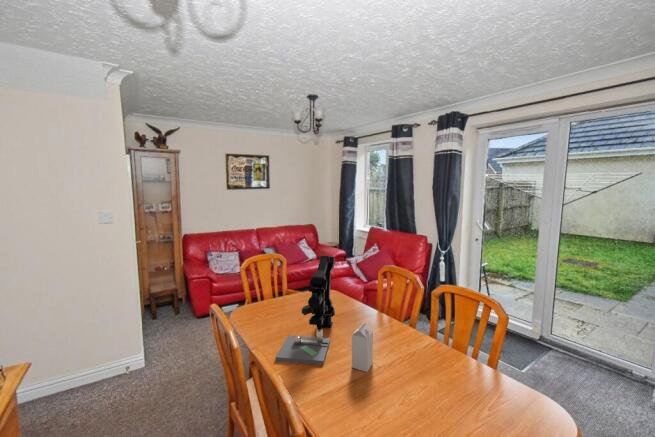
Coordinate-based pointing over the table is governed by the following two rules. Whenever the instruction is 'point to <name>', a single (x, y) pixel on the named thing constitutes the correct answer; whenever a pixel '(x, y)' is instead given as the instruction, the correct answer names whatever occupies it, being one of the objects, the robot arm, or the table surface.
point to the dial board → (303, 351)
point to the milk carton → (362, 348)
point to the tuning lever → (319, 340)
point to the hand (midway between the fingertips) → (319, 330)
